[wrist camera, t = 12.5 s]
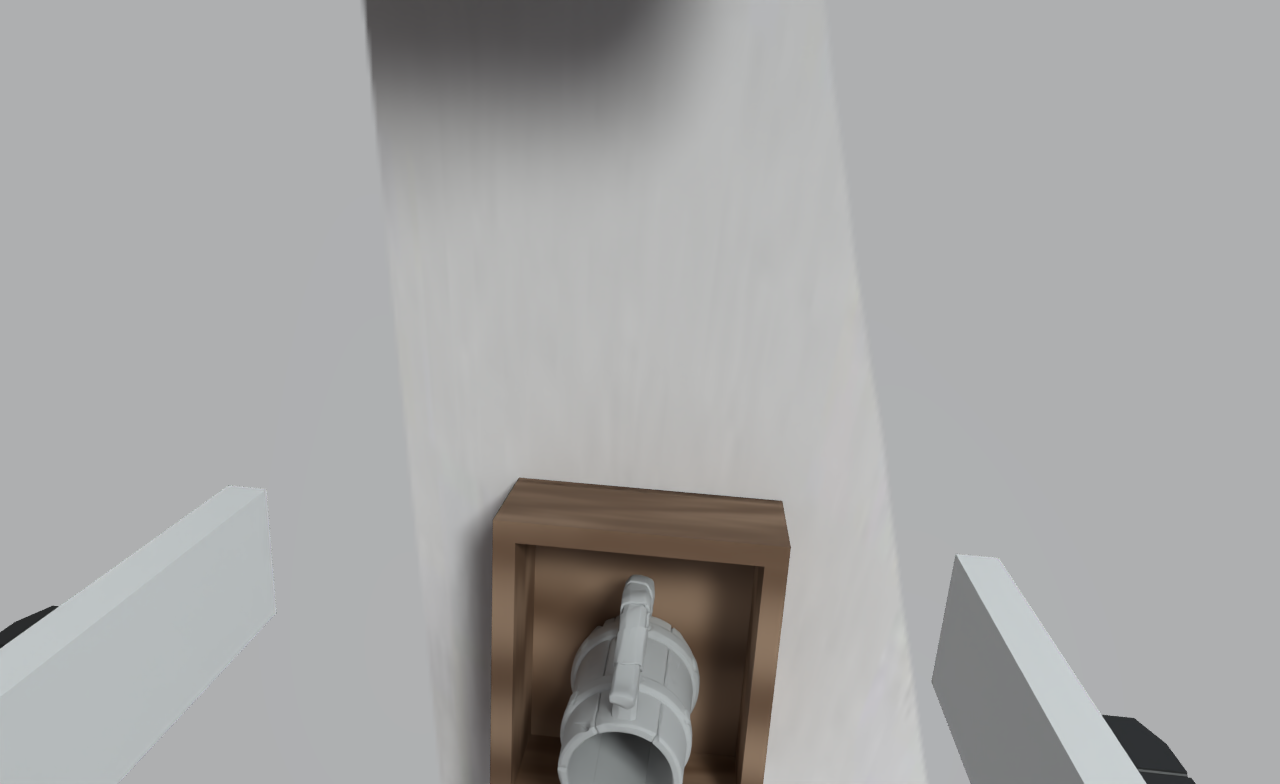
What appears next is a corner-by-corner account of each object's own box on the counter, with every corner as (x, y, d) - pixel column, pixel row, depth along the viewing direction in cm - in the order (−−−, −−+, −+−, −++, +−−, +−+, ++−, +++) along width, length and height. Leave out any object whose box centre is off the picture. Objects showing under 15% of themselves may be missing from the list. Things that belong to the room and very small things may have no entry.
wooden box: (519, 477, 49) (492, 520, 44) (782, 501, 48) (790, 547, 43) (514, 741, 55) (490, 810, 49) (752, 768, 53) (756, 842, 48)
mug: (573, 711, 53) (532, 865, 41) (581, 539, 50) (539, 655, 38) (694, 724, 52) (688, 885, 41) (710, 551, 49) (708, 673, 37)
